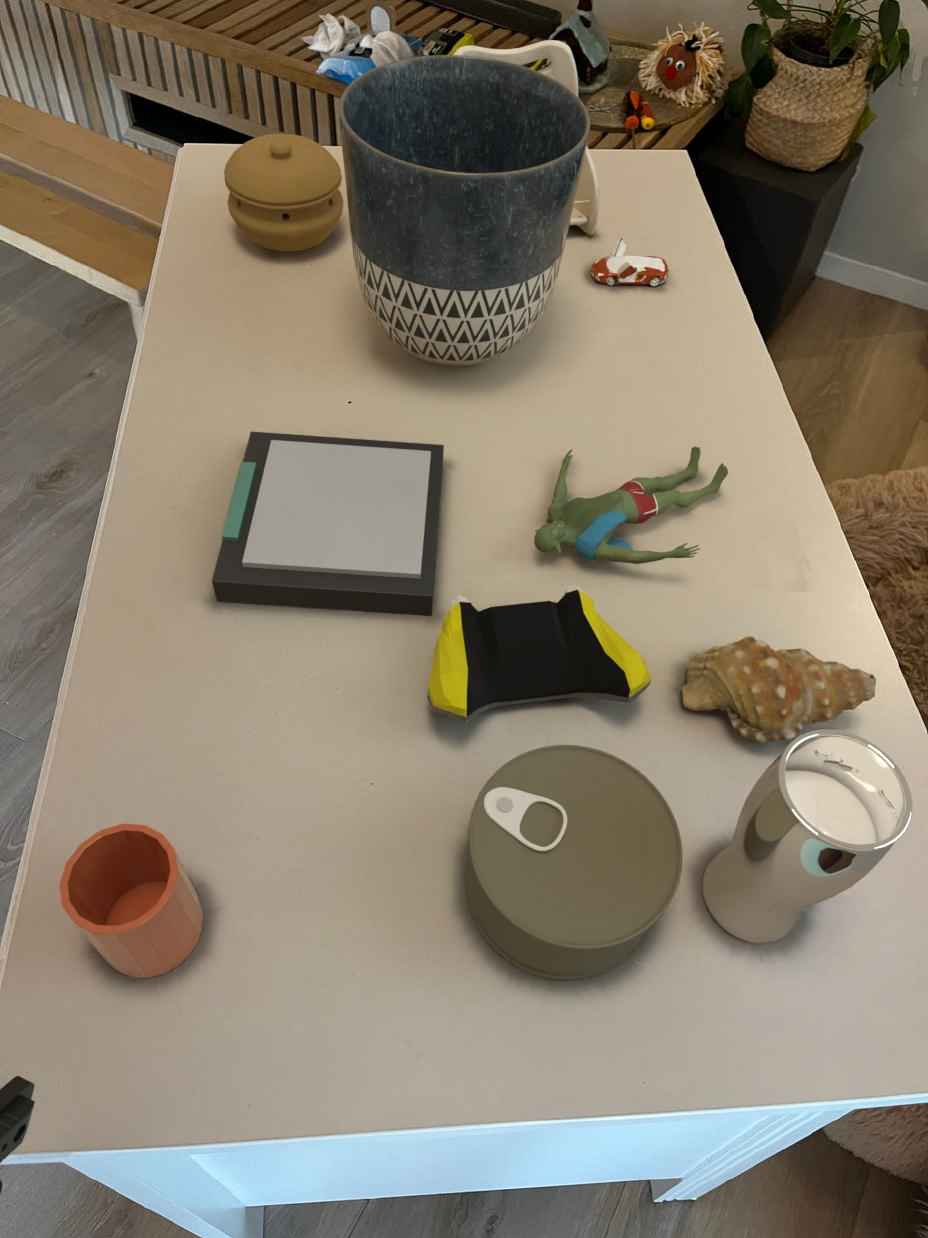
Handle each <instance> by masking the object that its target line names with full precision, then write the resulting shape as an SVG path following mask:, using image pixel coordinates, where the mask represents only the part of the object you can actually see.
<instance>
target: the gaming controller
mask: <svg viewBox="0 0 928 1238" xmlns="http://www.w3.org/2000/svg"><path fill="white" fill-rule="evenodd" d="M430 668H431V669H430V675H429V680H428V686H427V696H426V699H427V701H428V704H429V707H430V710H431V711H432V712H435V713H437V714H439V715H441V716H444V717H446V718H448V719H450V720H452V721H454V722H458V723H467V722H469V721H470V720H472V719H474V718H476V717H477V716H478V715H480V714H482V713H483V712H485V711H486V710H488V709H492V708H496V707H501V706H508V705H516V704H517V705H518V704H525V703H532V702H533V703H534V702H540V701H549V700H560V699H567V698H589V699H597V700H606V701H613V702H621V703H632V702H633V701H635V700H637V698H639V697H640V696H641V695H642V694H643V693H644V692H645V691H646V690H647V689H648V688H649V686H650V685H651V680H652V679H651V678H652V676H651V673H650V671H649V668H648V665H647V663H646V660H645V659H644V658H643V657H642V655H641V654H640V653H639V652H638V651H637V650H636V649H635V648H634V647H633V646H632V645H631V644H630V643H629V642H628V641H627V640H625V638H623V636H622V635H620V634H619V632H617V631H616V630H615V629H614V628H613V627H612V626H611V625H610V624H609V623H608V622H607V621H606V620H605V619H604V618H603V617H601V615H600V614H598V612H597V610H596V606H595V602H594V600H592V598H591V596H589V595H588V594H587V593H586V592H585V591H584V590H583V589H582V588H581V587H580V586H578V585H577V584H575V583H574V584H570V585H567V586H566V589H565V591H564V595H563V596H561V598H560V599H559V600H558V601H552V600H545V601H544V600H543V601H534V602H524V603H515V604H504V605H495V606H490V607H487V608H484V609H481V610H479V609H477V608H476V607H475V606H473V604H472V603H471V602H470V601H469V600H468V598H467V597H466V596H463V595H462V596H461V595H457V596H456V597H455V598H454V599H453V600H452V602H451V606H450V608H449V610H448V612H447V614H446V615H445V616H444V620H443V623H442V626H441V628H440V631H439V633H438V636H437V640H436V644H435V649H434V653H433V656H432V662H431V667H430Z"/></svg>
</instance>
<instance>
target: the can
mask: <svg viewBox="0 0 928 1238" xmlns="http://www.w3.org/2000/svg"><path fill="white" fill-rule="evenodd" d="M467 837H468V840H467V841H468V842H467V843H468V854H467V859H466V860H467V861H466V866H465V873H464V874H465V875H464V887H465V895H466V896H465V897H466V901H467V906H468V909H469V912H470V915H471V917H472V920H473V921H474V923H475V926H476V927H477V929H478V931H479V932H480V934H481V935H482V937H483V938H484V940H485V941H486V942H487V943H488V945H489V946H490V947H491V948H492V949H493V950H494V951H495V952H496V953H497V954H498V955H499V956H500V957H502V959H504V960H505V961H507V962H508V963H509V964H511V965H512V966H514V967H516V968H518V969H519V970H522V971H524V972H526V973H527V974H530V975H533V976H535V977H536V976H537V977H539V978H544V979H548V980H554V981H579V980H585V979H589V978H592V977H596V976H599V975H601V974H604V973H605V972H607V971H609V970H611V969H613V968H615V967H616V966H617V965H619V964H620V963H622V962H623V961H624V960H625V959H626V958H627V957H628V956H629V955H630V954H632V952H633V951H634V950H635V948H636V947H637V945H638V944H639V943H640V941H641V940H642V938H643V937H644V935H645V934H646V932H647V931H648V930H649V929H650V928H651V927H653V925H655V924H656V923H657V922H658V920H659V919H660V918H662V916H663V915H664V913H665V912H666V910H667V909H668V907H669V906H670V904H671V902H672V901H673V899H674V897H675V895H676V892H677V890H678V887H679V884H680V880H681V876H682V872H683V871H682V870H683V843H682V838H681V833H680V829H679V826H678V824H677V820H676V818H675V816H674V813H673V810H672V809H671V807H670V805H669V803H668V802H667V801H666V799H665V798H664V796H663V794H662V793H661V792H660V790H659V789H658V788H657V786H655V784H654V783H652V781H650V779H649V778H648V777H647V776H645V775H644V774H643V773H642V772H641V771H640V770H638V769H637V768H635V766H633V765H631V764H630V763H628V762H627V761H625V760H623V759H622V758H619V757H618V756H616V755H614V754H611V753H609V752H606V751H604V750H601V749H597V748H595V747H589V746H584V745H576V744H555V745H547V746H542V747H537V748H535V749H532V750H528V751H526V752H523V753H521V754H519V755H517V756H515V757H513V758H512V759H510V760H509V761H507V762H506V763H504V764H503V765H502V766H501V767H499V768H498V769H497V770H496V771H495V772H494V773H493V774H492V775H491V776H490V777H489V779H488V780H487V781H486V782H485V784H484V785H483V787H482V788H481V790H480V792H479V794H478V796H477V798H476V800H475V802H474V805H473V807H472V811H471V814H470V819H469V827H468V836H467Z"/></svg>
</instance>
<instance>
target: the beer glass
mask: <svg viewBox="0 0 928 1238" xmlns="http://www.w3.org/2000/svg"><path fill="white" fill-rule="evenodd" d="M908 783H909V782H908V781H907V779H906V777H905V775H904V774H903V772H902V770H901V769H900V767H899V766H898V764H896V763H895V761H894V760H893V759H892V758H891V757H890V756H889V755H888V753H886V752H885V751H884V750H883V749H881V748H880V747H879V746H877V745H876V744H874V743H873V742H871V741H869V740H868V739H866V738H864V737H862V736H859V735H858V734H854V733H851V732H848V731H845V730H840V729H831V728H826V729H825V728H823V729H816V730H811V731H808V732H805V733H802V734H801V735H798V736H797V737H795V738H793V739H792V741H791V742H789V743H788V745H787V746H786V747H785V749H784V750H783V752H781V753H780V754H779V755H778V757H776V758H775V759H774V761H772V763H771V764H770V765H769V766H768V767H766V770H764V772H763V773H762V774H761V776H759V778H758V779H757V780H756V782H755V783H754V785H753V787H752V789H750V791H749V794H748V795H747V796H746V799H745V801H744V802H743V803H744V804H743V805H742V808H741V810H740V813H739V816H738V820H737V822H736V826H735V830H734V833H733V837H732V840H731V843H730V845H729V846H727V847H725V848H724V849H722V850H721V851H719V852H718V853H717V854H715V855H714V856H713V857H712V858H711V859H710V861H709V862H708V864H707V865H706V867H705V869H704V873H703V875H702V883H701V884H702V885H701V886H702V888H701V889H702V896H703V899H704V903H705V905H706V907H707V910H708V912H709V913H710V915H711V917H712V918H713V920H714V921H715V922H716V923H717V925H719V926H720V927H721V928H722V929H723V930H724V931H725V932H727V933H728V934H729V935H731V936H733V937H735V938H737V939H739V940H741V941H744V942H747V943H750V944H762V945H763V944H770V943H774V942H778V941H780V940H782V939H783V938H785V937H786V936H788V935H789V934H790V933H791V932H793V930H794V929H795V927H796V926H797V924H798V923H799V920H800V919H801V916H802V914H803V912H804V910H805V909H806V908H809V907H811V906H813V905H816V904H819V903H822V902H824V901H827V900H828V899H831V898H833V897H835V896H837V895H839V894H841V893H843V892H844V891H846V890H848V889H850V888H852V887H853V886H855V885H856V884H857V883H858V882H859V881H861V880H862V879H863V878H865V877H866V876H867V875H868V874H869V873H870V872H871V871H872V870H873V869H874V868H875V867H876V866H877V865H878V864H880V862H881V861H882V860H883V858H884V857H885V856H886V854H887V853H889V851H890V850H891V849H892V848H893V846H894V845H895V844H896V842H897V841H898V840H900V839H901V838H902V837H903V835H904V834H905V833H906V831H907V830H908V827H910V823H911V821H912V815H913V807H914V806H913V797H912V793H911V790H910V786H909V784H908Z"/></svg>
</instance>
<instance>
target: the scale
mask: <svg viewBox="0 0 928 1238" xmlns="http://www.w3.org/2000/svg"><path fill="white" fill-rule="evenodd" d="M444 449H445V445H444V444H436V443H435V444H434V443H422V442H421V443H420V442H407V441H406V442H405V441H391V440H378V439H365V438H349V437H336V436H321V435H308V434H307V435H306V434H293V433H279V432H267V431H266V432H263V431H250V432H249V437H248V440H247V444H246V448H245V452H244V456H243V459H242V461H240V465H239V468H238V473H237V476H236V480H235V483H234V488H233V491H232V495H231V499H230V503H229V507H228V511H227V514H226V518H225V522H224V526H223V530H222V533H221V544H220V549H219V552H218V556H217V559H216V564H215V567H214V571H213V575H212V579H211V584H212V587H213V591H214V595H215V599H216V602H220V603H222V602H223V603H237V604H249V605H250V604H251V605H265V606H266V605H267V606H281V607H282V606H283V607H297V608H299V607H300V608H309V609H310V608H312V609H326V610H327V609H328V610H341V611H343V610H344V611H355V612H356V611H358V612H372V613H373V612H374V613H388V614H405V615H420V616H432V615H433V605H434V592H435V576H436V565H437V564H436V563H437V552H438V539H439V537H438V536H439V521H440V509H441V508H440V507H441V496H442V480H443V470H444V469H443V468H444V467H443V466H444Z"/></svg>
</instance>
